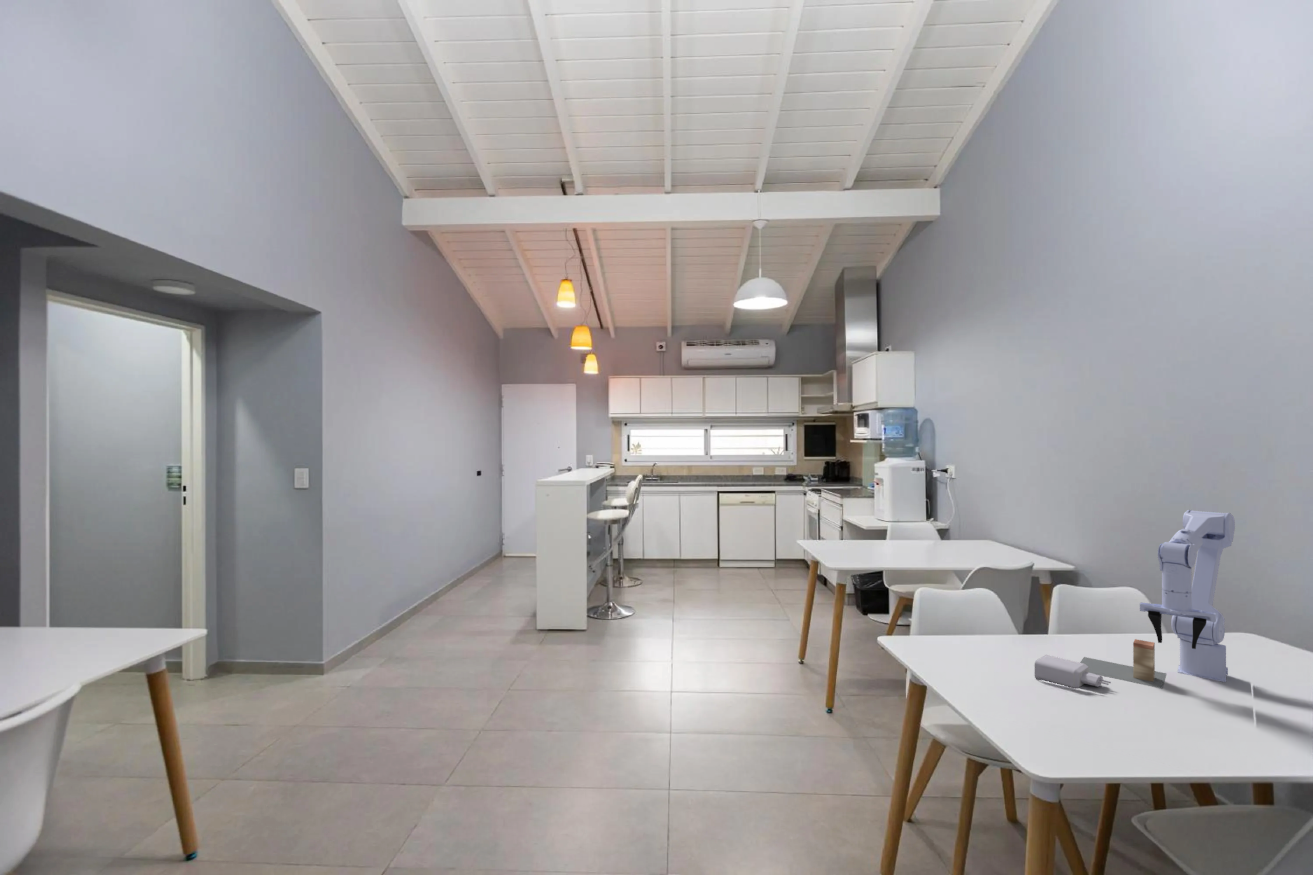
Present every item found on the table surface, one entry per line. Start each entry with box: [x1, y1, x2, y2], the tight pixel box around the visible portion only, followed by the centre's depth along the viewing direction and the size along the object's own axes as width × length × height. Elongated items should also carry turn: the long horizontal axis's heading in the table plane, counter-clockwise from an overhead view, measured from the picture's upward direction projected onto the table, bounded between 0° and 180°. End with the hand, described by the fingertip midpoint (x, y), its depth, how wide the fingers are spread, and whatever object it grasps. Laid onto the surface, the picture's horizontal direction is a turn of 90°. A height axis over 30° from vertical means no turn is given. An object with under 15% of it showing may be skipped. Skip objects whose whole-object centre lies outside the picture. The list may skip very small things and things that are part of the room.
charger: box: [1034, 654, 1112, 689], centre depth 156 cm, size 5×9×15 cm
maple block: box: [1132, 638, 1156, 682], centre depth 158 cm, size 4×4×9 cm
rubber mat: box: [1079, 656, 1167, 689], centre depth 162 cm, size 18×14×1 cm
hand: (1176, 644), depth 154 cm, fingers open, 6 cm apart
